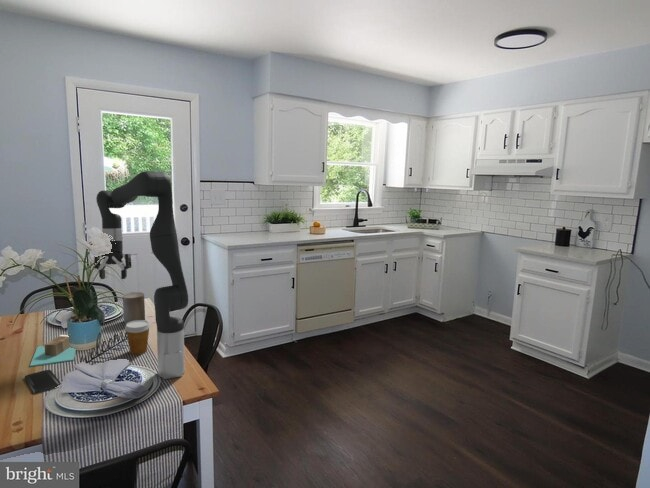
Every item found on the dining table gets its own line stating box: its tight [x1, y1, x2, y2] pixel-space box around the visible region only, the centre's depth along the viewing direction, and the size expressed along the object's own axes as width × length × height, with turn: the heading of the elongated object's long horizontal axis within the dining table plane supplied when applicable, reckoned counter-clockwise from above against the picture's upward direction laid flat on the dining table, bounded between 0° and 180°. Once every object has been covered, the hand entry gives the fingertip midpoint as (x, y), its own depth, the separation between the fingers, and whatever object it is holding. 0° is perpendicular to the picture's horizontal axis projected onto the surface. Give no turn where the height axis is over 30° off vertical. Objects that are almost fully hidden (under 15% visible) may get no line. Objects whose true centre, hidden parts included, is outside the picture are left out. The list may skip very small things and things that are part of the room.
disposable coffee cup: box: [124, 319, 151, 356], centre depth 169 cm, size 10×10×12 cm
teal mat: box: [29, 345, 77, 368], centre depth 165 cm, size 18×14×1 cm
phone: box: [24, 369, 62, 395], centre depth 143 cm, size 8×1×15 cm
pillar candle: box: [122, 291, 146, 325], centre depth 202 cm, size 10×10×15 cm
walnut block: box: [43, 334, 70, 356], centre depth 167 cm, size 4×4×10 cm
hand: (113, 278), depth 170 cm, fingers open, 8 cm apart
